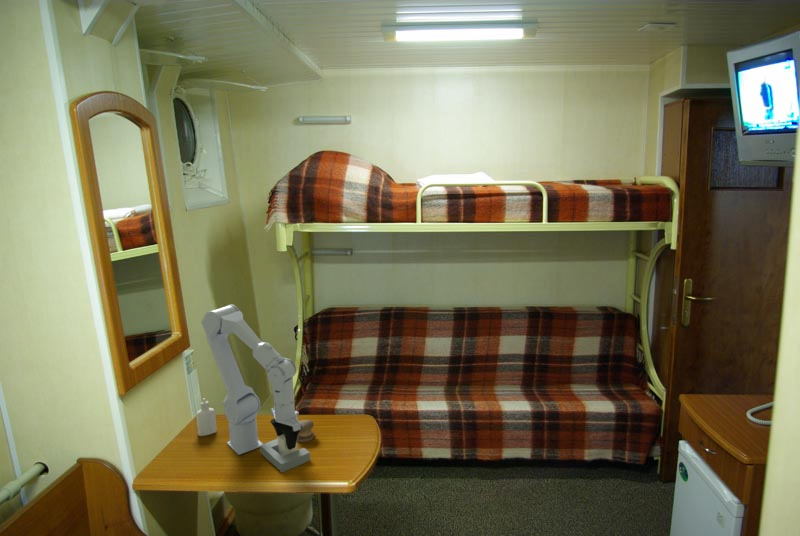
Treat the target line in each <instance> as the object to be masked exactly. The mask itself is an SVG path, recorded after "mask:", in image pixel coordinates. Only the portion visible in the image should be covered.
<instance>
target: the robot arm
mask: <svg viewBox="0 0 800 536" xmlns="http://www.w3.org/2000/svg"><path fill="white" fill-rule="evenodd" d="M203 315H204V316H203V318H202V321H201V324H202V327H203V329H204V332H205V334H206V340H207V343H208V347H209V348H210V351H211V353H212V356H213V358H214V362H215V364H216V366H217V368H218V371H219V375H220V377H221V379H222V380H221V381H222V383H223V384H224V388H225V389H226V392H227V393H226V396H225V397H224V400H223V402H222V404H223V407H224V414H225V418H226V420H227V421H228V432H229V441H227V442H226V444H227V446H229V447H230V448H231V449H232V450H233V451H234V452H235V453H236V454H237V455H242V454H245V453H249V452H251V451H253V450H255V449H258V448H260V445H262V444H264V443H263V442H262V441H260V440H259V437H258V436H259V435H258V425H257V416H258V411H260V409H261V400H260V398H259V397H258V395H256V392H255V391H254V389H253V387H251V386H248V385H246V384H245V382H244V379H243V376H242V374H241V371H240V368H239V366H238V363H237V361H236V358H235V355H234V352H233V350H232V347H231V344H230V342H229V340H228V339H229V338H228V337H229V336H230V334H234V335H236V337H237V338H238V339H240V340H241V342H243V343H244V344H245V345H246V346H247V347H248V348H250V349H251V350H252V357H253V358H254V359H255V360H256V361H257V362H258V363H259V365H261V367H263V368H264V370H265V371H267V374H266V375H267V379H268V381H269V382H270V384H271V389H272V391H273V406H274V407H272V408H271V409H270V410H271V416H273V417H274V418H273V419H271V420H270V423H271V425H272V426H273V429H274V431H275V433H276V437H277V436H280V435H283V434H284V436H285V439H286V444H287V448H288V449H289V450H290V449H293V448H295V446H296V441H297V437H298V434H299V431H300V430H301V428H302V426H301V424H300V422H299V421H300V420H299V419H298V416H299V411H297V410H296V408H295V407H296V406H295V394H294V393H295V392H294V391H295V389H294V379H293V378H294V376H295V375H296V373H297V367H296V364H295V362H294V361H293V360H292V359H290V358H287V357H285V356H282V355H281V354H280V353H279V352H278V351H277V350H276V349H275V348H274V347H273V346H274V345H272V344H271V343H269V342H267V341H266V342H265V341H264V342H263V341H262V340H261V339H260V338H259V337H258V335H257V334H256V333H255V332H254V331H253V330H252V327H250V326H249V324H248V323H247V322H246V321H245V320H244V314H243V312H242V311H241V310H240V309H239V308H238V306H236V305H235V304H227V305H226V306H223V307H220V308H217V309H213V310H208V311H206V312H205V314H203ZM241 397H242V398H241ZM239 398H240V399H239ZM297 442H298V441H297Z"/></svg>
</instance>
